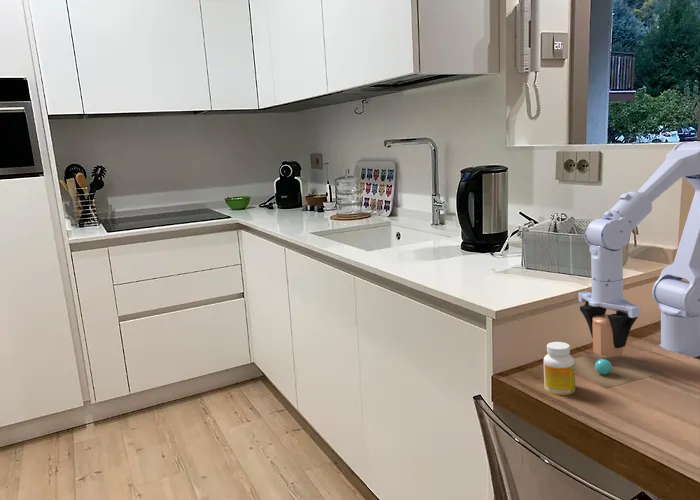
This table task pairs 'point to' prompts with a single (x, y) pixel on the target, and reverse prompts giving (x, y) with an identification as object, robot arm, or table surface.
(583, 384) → the table surface
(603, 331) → the faceted octagonal canister
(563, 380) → the supplement bottle
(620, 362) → the walnut board
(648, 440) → the table surface
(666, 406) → the table surface
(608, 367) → the teal ball
